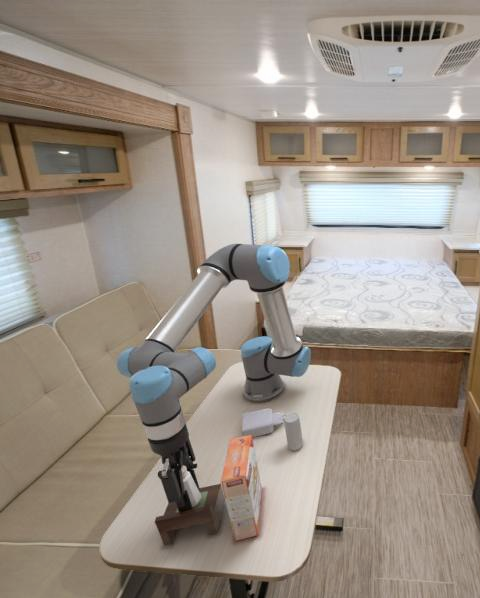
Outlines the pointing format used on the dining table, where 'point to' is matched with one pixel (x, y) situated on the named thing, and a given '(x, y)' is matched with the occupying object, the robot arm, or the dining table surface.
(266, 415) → the charger
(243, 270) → the robot arm
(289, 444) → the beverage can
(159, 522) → the shelf
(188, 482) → the salt shaker
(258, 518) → the cracker box
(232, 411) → the dining table surface
